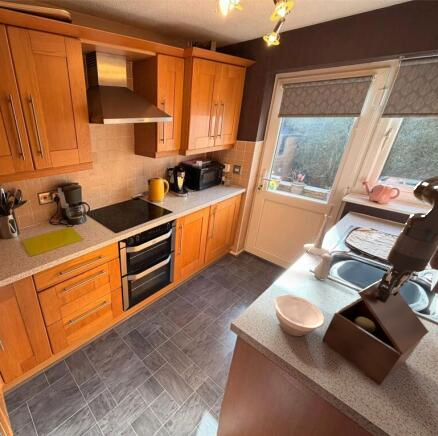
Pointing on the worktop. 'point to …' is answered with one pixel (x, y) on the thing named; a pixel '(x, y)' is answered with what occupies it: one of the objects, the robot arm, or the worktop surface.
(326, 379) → the worktop surface
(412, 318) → the lid
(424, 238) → the robot arm
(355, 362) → the chest
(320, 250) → the candlestick
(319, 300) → the worktop surface
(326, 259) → the salt shaker
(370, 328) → the cork
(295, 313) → the bowl
